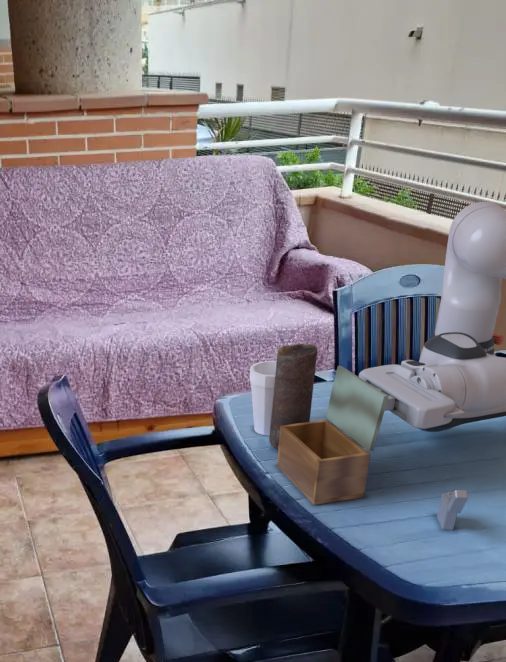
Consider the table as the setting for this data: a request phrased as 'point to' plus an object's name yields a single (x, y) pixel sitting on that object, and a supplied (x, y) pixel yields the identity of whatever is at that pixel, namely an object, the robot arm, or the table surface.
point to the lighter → (451, 508)
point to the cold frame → (322, 461)
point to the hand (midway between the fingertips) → (360, 402)
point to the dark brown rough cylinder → (292, 387)
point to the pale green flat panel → (356, 407)
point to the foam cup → (262, 394)
